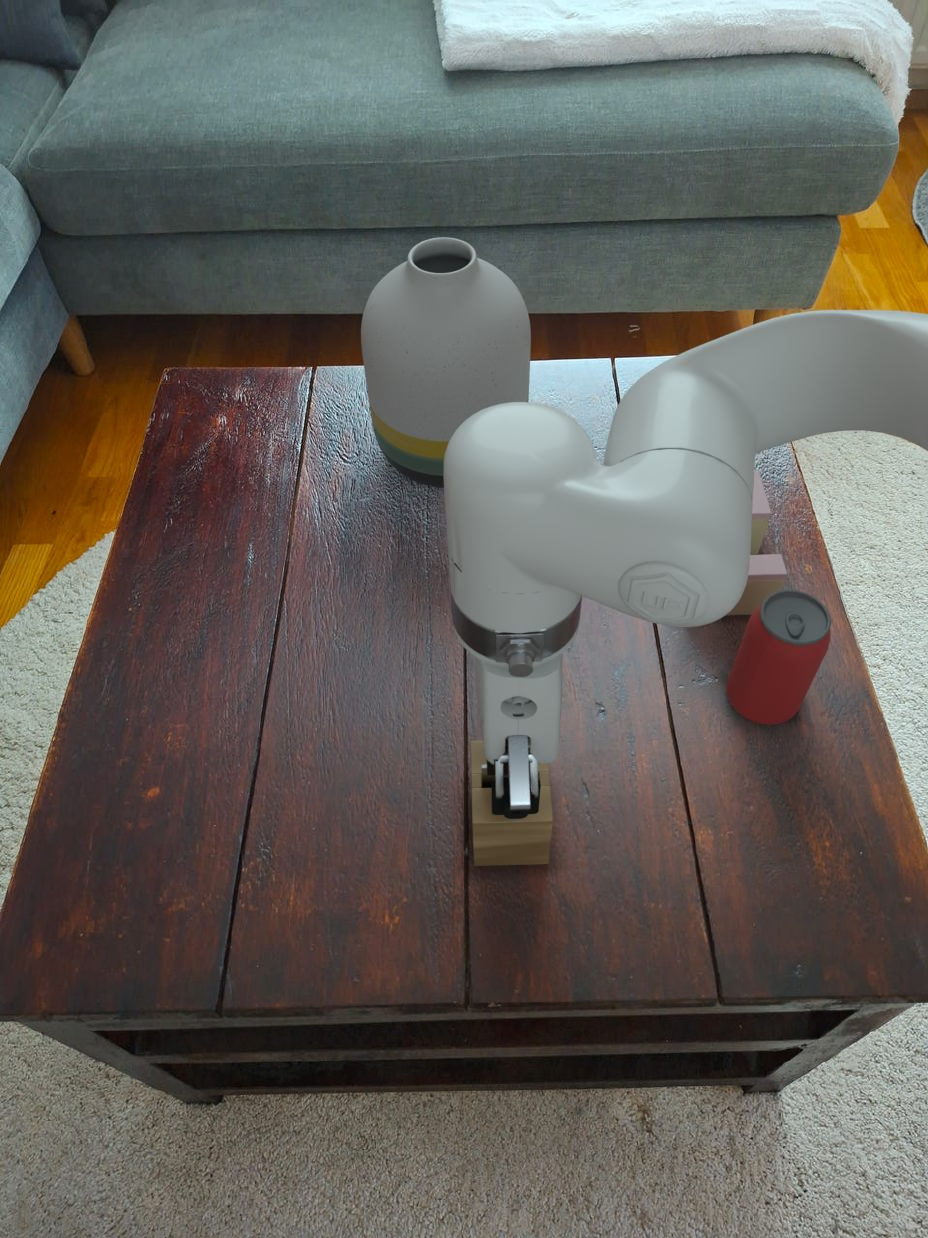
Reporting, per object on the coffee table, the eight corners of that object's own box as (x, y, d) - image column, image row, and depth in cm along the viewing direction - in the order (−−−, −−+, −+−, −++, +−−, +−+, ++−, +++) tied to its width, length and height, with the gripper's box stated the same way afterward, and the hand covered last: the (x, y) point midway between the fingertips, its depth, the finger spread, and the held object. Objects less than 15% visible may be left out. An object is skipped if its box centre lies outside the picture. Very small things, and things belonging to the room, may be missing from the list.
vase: (376, 406, 110) (351, 211, 91) (519, 398, 111) (524, 202, 92) (376, 509, 100) (348, 314, 81) (534, 500, 100) (543, 303, 81)
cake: (757, 554, 95) (771, 513, 90) (669, 557, 95) (678, 515, 90) (746, 511, 99) (758, 469, 94) (660, 514, 99) (668, 472, 94)
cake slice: (772, 614, 90) (787, 574, 86) (678, 617, 90) (689, 576, 86) (766, 594, 92) (781, 553, 87) (674, 596, 92) (684, 556, 87)
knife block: (548, 864, 75) (553, 821, 69) (474, 866, 76) (472, 823, 69) (542, 786, 80) (546, 738, 73) (472, 788, 80) (470, 740, 73)
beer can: (722, 720, 83) (751, 640, 74) (727, 661, 87) (756, 577, 78) (798, 734, 82) (838, 655, 73) (800, 674, 86) (838, 591, 76)
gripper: (596, 729, 49) (574, 861, 62) (568, 492, 59) (554, 649, 73) (452, 733, 49) (461, 864, 62) (449, 496, 59) (457, 652, 73)
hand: (511, 748), depth 68 cm, fingers open, 9 cm apart
